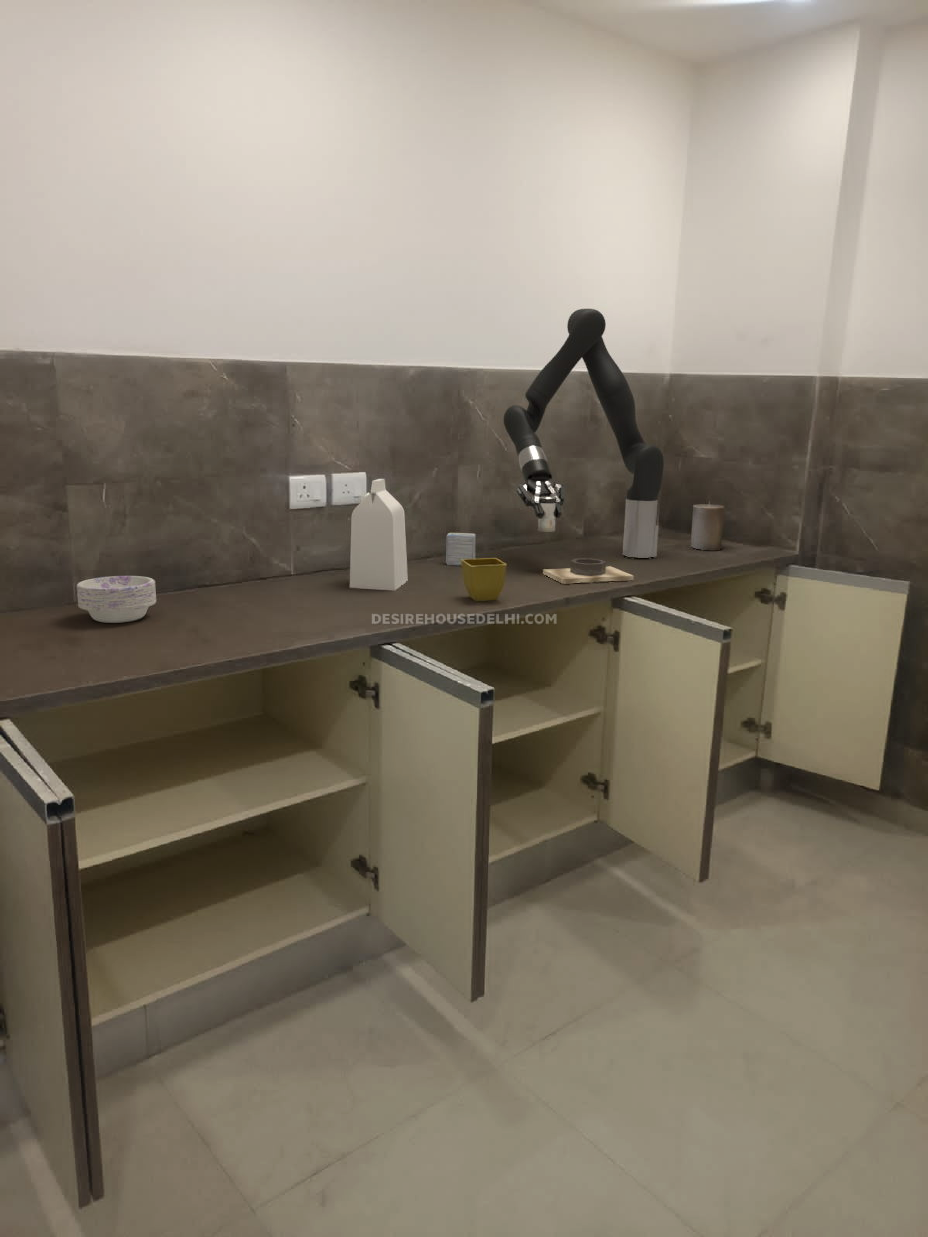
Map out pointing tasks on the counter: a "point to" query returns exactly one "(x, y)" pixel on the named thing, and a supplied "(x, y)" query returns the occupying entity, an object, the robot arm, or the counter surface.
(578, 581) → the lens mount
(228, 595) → the counter surface
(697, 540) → the pillar candle
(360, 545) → the milk
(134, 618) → the paper bowls
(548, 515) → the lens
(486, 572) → the flower pot
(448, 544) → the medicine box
